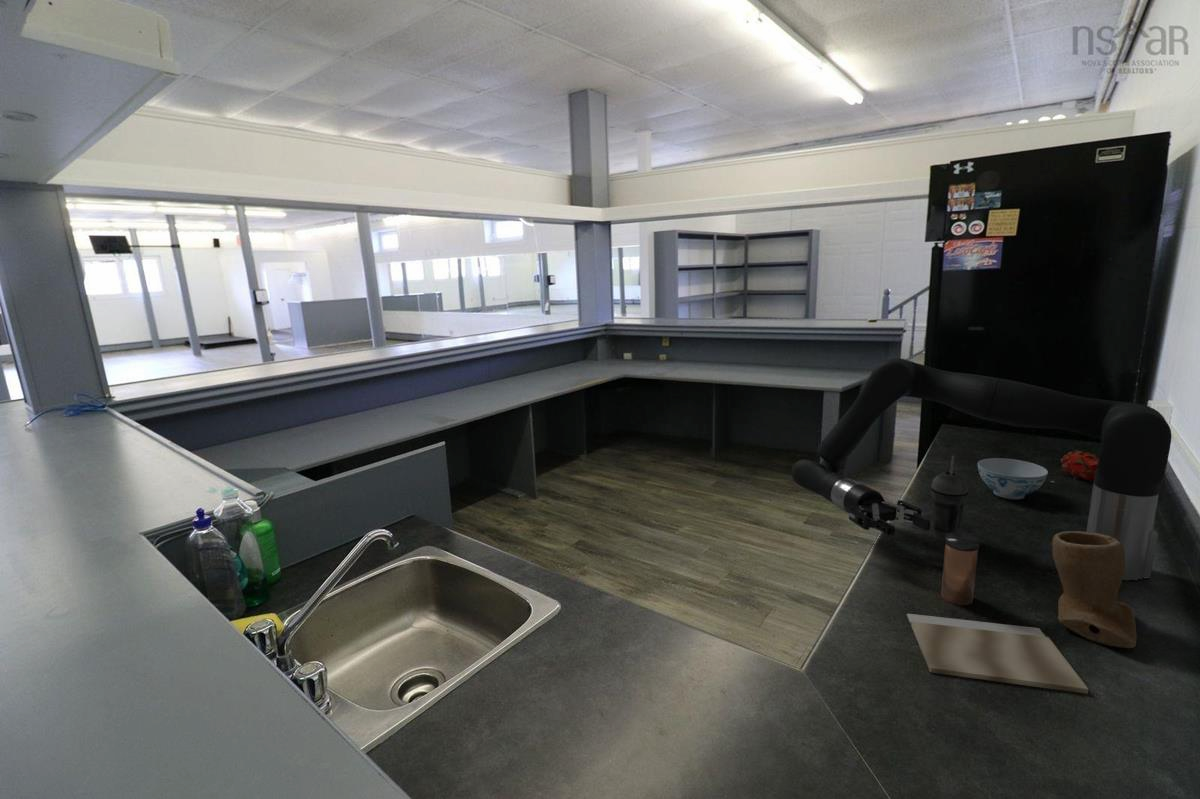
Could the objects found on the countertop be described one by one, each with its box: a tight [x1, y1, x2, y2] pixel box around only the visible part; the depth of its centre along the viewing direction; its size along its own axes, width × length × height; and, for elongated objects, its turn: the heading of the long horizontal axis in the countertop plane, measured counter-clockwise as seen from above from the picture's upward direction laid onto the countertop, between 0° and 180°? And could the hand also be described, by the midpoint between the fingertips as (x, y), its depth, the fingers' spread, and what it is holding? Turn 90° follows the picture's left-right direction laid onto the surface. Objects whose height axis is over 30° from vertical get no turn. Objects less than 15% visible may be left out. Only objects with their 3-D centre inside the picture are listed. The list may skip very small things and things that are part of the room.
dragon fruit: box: [1060, 450, 1099, 483], centre depth 156 cm, size 8×8×12 cm
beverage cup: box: [930, 454, 969, 542], centre depth 125 cm, size 7×7×20 cm
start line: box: [906, 613, 1046, 637], centre depth 95 cm, size 20×2×1 cm, turn 74°
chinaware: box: [977, 457, 1049, 500], centre depth 148 cm, size 15×15×8 cm
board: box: [910, 622, 1089, 695], centre depth 88 cm, size 20×12×1 cm, turn 74°
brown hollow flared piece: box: [1051, 530, 1137, 649], centre depth 94 cm, size 15×12×15 cm
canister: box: [940, 531, 980, 606], centre depth 103 cm, size 5×5×12 cm
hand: (911, 529), depth 113 cm, fingers open, 8 cm apart
